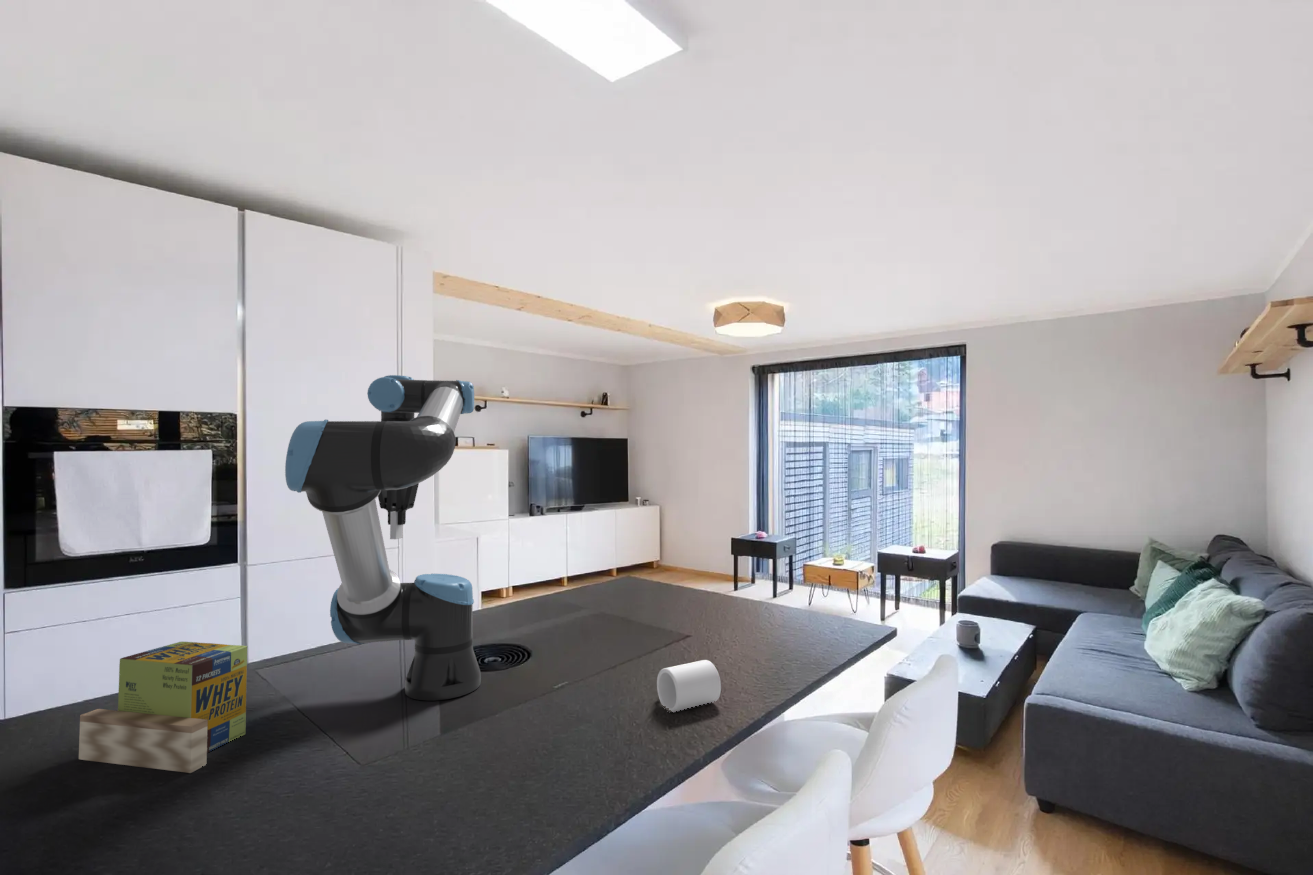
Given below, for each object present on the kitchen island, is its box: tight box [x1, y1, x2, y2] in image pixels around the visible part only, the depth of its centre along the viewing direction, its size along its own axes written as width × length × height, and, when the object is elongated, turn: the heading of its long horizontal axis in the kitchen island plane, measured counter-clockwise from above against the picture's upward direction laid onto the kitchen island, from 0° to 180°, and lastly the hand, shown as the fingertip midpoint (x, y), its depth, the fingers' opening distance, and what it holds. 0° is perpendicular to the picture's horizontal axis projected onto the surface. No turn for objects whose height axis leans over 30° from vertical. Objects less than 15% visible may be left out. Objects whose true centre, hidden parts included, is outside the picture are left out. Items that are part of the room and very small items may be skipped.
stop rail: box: [78, 708, 208, 774], centre depth 97 cm, size 22×3×7 cm, turn 78°
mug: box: [656, 659, 722, 713], centre depth 120 cm, size 12×10×8 cm
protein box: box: [117, 641, 248, 754], centre depth 103 cm, size 10×15×16 cm
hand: (396, 538), depth 145 cm, fingers closed
